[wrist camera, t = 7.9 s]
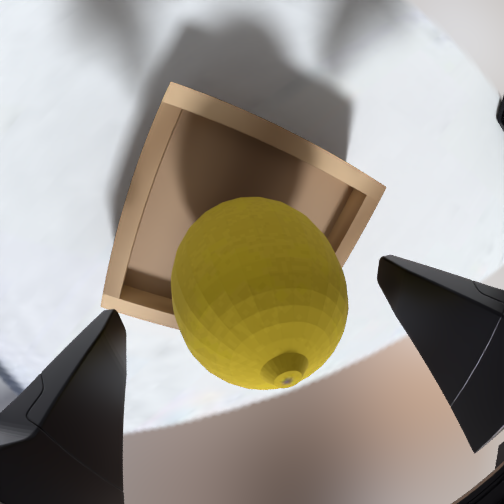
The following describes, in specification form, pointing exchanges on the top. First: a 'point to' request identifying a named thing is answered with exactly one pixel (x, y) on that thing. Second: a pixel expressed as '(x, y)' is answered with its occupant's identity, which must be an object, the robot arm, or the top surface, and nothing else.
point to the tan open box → (221, 192)
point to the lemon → (258, 293)
